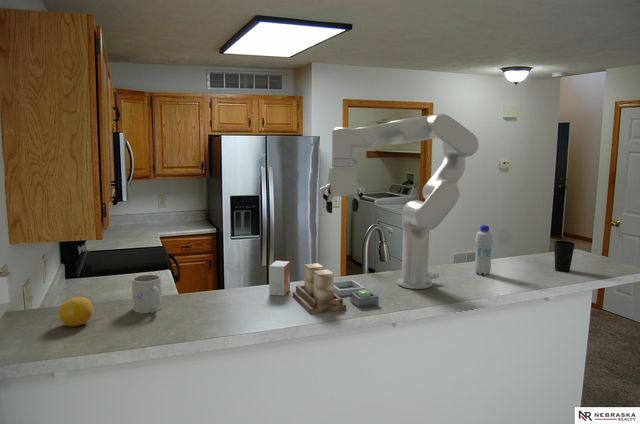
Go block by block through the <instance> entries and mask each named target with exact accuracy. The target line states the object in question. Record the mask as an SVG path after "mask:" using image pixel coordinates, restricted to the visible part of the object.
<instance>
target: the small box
mask: <svg viewBox="0 0 640 424" xmlns="http://www.w3.org/2000/svg"><path fill="white" fill-rule="evenodd" d="M268 281H269V282H268V285H269V287H268V289H269V291H268V293H269V295H270V296H283V297H284V296H285V295H286V294H287V293H288V292H289V291H290V290H291V262H290V260H289V261H286V260H285V261H284V260H275V261H274V262H272V264H270V265H269V266H268Z"/></svg>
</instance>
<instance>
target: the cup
mask: <svg viewBox="0 0 640 424" xmlns="http://www.w3.org/2000/svg"><path fill="white" fill-rule="evenodd" d="M553 242H554V243H553V244H554V246H553V247H554V248H553V249H554V251H553V252H554V254H553V255H554V270H555V271H556V272H560V273H569V272H570V270H571V265H572V261H573V256H574V249H575V244H576V243H575V242H573V241H571V240H570V241H569V240H554V241H553Z"/></svg>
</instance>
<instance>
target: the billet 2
mask: <svg viewBox="0 0 640 424" xmlns="http://www.w3.org/2000/svg"><path fill="white" fill-rule="evenodd" d="M334 275H335V274H334V272H333V271H331V270H329V269H323V270H318V271H314V299H315V300H316V301H323V300H332V299H333V295H334V282H335V281H334V280H335V279H334V277H335V276H334Z"/></svg>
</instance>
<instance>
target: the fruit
mask: <svg viewBox="0 0 640 424" xmlns="http://www.w3.org/2000/svg"><path fill="white" fill-rule="evenodd" d="M58 311H59V312H58V316H59V320H60V321H61V322H62V323H63V324H65V325H66V326H67V327H79V326H82V325H84V324H87V323H88V322H89V321H90V320H91V318H92V316H93V314H94V306H93V303H92V302H91V301H90V300H89V299H87V298H85V297H81V296H77V297H76V296H75V297H72V298H70V299H68V300H66V301H65V302H63V304H62V305H61V306H60V308H59V310H58Z"/></svg>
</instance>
